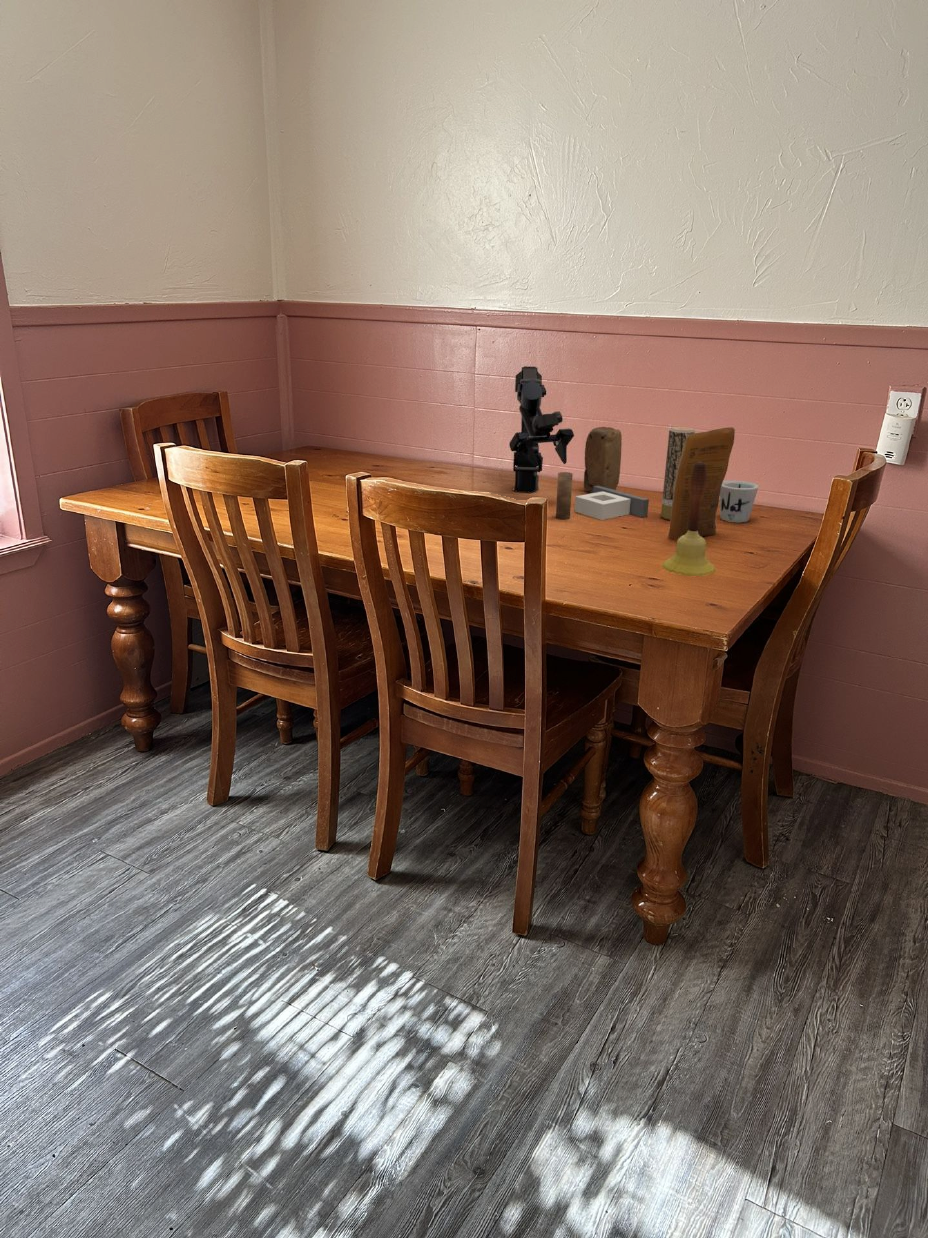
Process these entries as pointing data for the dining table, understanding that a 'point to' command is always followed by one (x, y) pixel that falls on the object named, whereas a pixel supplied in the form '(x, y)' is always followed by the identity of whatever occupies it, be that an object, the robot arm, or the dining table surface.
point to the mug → (737, 500)
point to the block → (602, 458)
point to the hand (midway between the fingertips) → (551, 464)
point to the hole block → (602, 505)
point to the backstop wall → (636, 505)
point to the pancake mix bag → (716, 457)
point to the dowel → (564, 495)
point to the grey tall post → (673, 465)
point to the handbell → (692, 534)
